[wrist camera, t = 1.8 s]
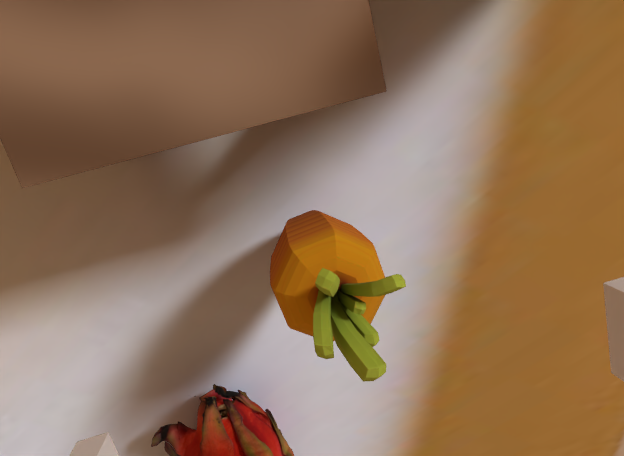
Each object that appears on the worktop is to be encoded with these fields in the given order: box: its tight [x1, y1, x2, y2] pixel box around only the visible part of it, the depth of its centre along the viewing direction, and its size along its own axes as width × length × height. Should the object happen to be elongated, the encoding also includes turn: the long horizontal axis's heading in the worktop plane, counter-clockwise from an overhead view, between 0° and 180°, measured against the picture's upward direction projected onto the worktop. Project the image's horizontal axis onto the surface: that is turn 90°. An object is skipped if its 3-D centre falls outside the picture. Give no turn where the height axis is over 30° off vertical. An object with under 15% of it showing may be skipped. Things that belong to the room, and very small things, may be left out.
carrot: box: [270, 210, 406, 381], centre depth 21 cm, size 5×5×15 cm
